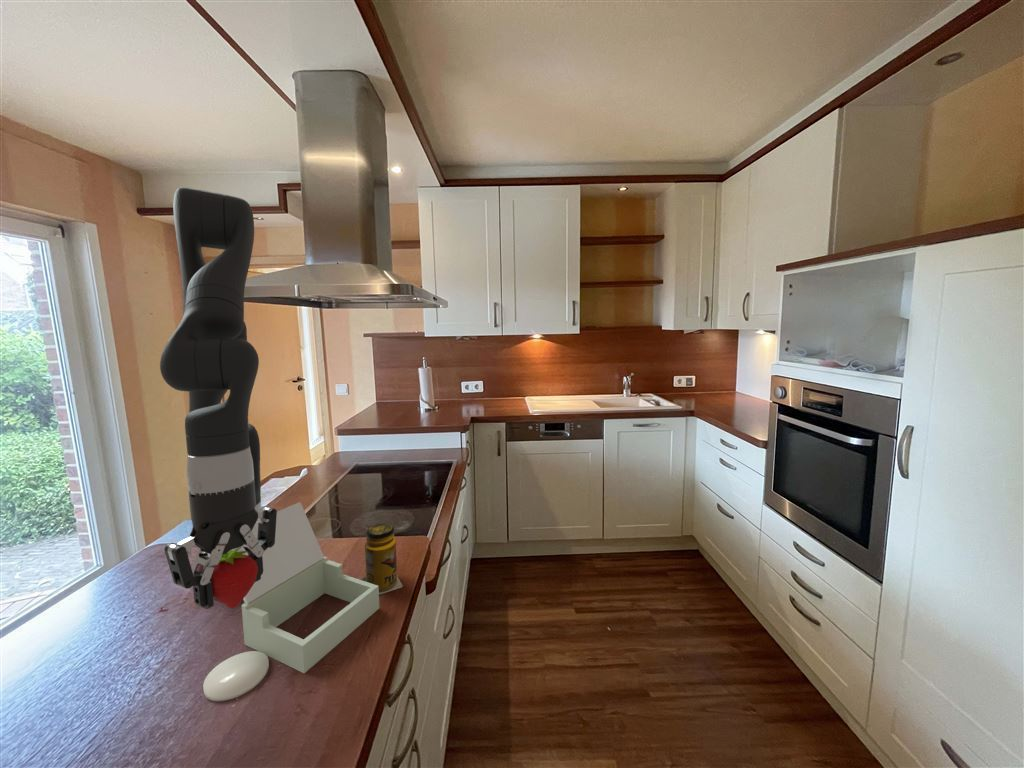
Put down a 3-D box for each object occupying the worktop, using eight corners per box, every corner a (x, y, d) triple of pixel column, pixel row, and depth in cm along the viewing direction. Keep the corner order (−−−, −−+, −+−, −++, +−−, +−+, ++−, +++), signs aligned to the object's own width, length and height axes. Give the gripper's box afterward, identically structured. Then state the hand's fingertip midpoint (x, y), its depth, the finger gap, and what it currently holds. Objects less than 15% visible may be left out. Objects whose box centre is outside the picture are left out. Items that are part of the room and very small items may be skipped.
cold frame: (222, 633, 68) (214, 535, 66) (304, 581, 82) (300, 500, 80) (304, 673, 60) (297, 563, 58) (379, 608, 74) (376, 518, 72)
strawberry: (236, 626, 54) (230, 557, 53) (192, 617, 56) (186, 550, 55) (271, 598, 60) (266, 536, 59) (230, 591, 62) (225, 530, 61)
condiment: (403, 587, 81) (401, 531, 80) (360, 602, 76) (357, 542, 75) (392, 569, 87) (391, 517, 86) (351, 582, 82) (349, 527, 81)
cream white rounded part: (191, 688, 57) (190, 683, 57) (247, 649, 64) (247, 644, 64) (225, 709, 54) (225, 704, 54) (280, 666, 61) (280, 661, 61)
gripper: (255, 463, 64) (262, 561, 66) (144, 495, 51) (156, 616, 53) (287, 469, 61) (294, 572, 63) (178, 504, 48) (190, 633, 50)
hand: (231, 592), depth 58 cm, fingers closed on strawberry, 6 cm apart
